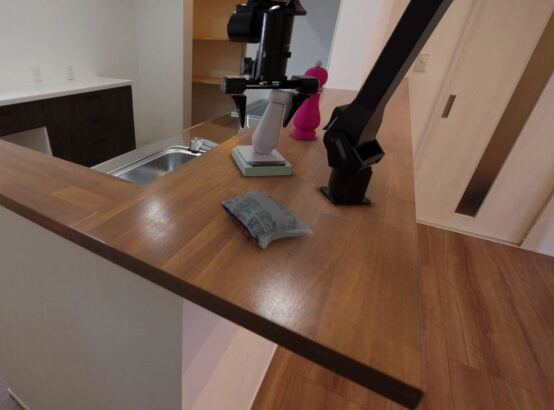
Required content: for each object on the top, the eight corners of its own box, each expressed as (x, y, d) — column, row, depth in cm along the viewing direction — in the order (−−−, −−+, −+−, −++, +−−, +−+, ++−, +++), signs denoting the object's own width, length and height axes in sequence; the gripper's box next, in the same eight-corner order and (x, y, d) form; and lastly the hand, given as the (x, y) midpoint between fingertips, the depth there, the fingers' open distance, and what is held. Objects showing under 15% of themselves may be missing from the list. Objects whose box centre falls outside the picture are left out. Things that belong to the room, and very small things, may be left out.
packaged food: (264, 205, 52) (268, 179, 49) (311, 245, 42) (319, 215, 40) (218, 215, 49) (219, 188, 46) (257, 260, 39) (262, 229, 37)
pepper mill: (285, 134, 89) (298, 59, 79) (306, 132, 91) (321, 58, 81) (300, 141, 83) (316, 61, 73) (322, 139, 85) (340, 61, 75)
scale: (290, 175, 63) (293, 163, 62) (244, 176, 62) (245, 164, 61) (272, 154, 73) (273, 144, 72) (231, 155, 73) (232, 145, 71)
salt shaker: (267, 157, 63) (289, 93, 57) (244, 148, 66) (262, 86, 60) (278, 153, 68) (299, 94, 62) (256, 145, 71) (274, 87, 64)
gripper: (304, 44, 64) (291, 117, 72) (218, 43, 63) (214, 118, 71) (330, 46, 55) (311, 131, 63) (229, 45, 53) (223, 132, 61)
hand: (263, 127), depth 64 cm, fingers open, 9 cm apart
